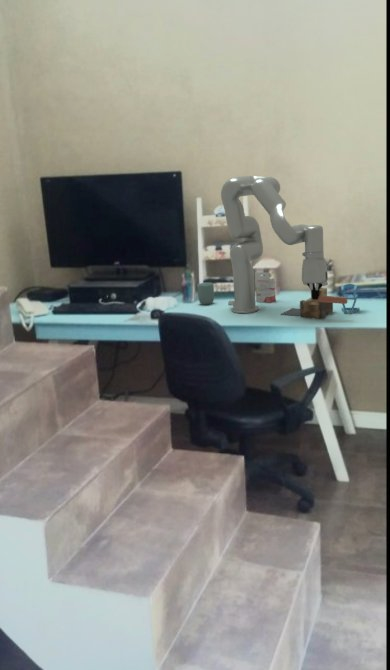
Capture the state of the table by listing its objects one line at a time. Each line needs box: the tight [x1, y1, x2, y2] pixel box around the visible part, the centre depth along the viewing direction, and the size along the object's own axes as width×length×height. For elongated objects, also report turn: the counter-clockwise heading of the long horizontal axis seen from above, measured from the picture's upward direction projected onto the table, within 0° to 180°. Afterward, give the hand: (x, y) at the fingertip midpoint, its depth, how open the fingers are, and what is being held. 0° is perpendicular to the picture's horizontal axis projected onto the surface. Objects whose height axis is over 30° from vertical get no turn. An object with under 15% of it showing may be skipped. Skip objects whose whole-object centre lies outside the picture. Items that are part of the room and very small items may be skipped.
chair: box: [340, 283, 361, 315], centre depth 278 cm, size 8×8×12 cm
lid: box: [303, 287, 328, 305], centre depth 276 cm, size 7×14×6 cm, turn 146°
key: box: [318, 295, 348, 305], centre depth 267 cm, size 12×2×2 cm, turn 56°
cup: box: [196, 282, 215, 306], centre depth 315 cm, size 8×8×10 cm
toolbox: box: [299, 299, 334, 320], centre depth 277 cm, size 10×14×7 cm
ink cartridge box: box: [254, 271, 277, 304], centre depth 310 cm, size 9×5×15 cm, turn 55°
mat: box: [280, 307, 300, 317], centre depth 285 cm, size 10×12×1 cm
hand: (315, 298), depth 271 cm, fingers closed
